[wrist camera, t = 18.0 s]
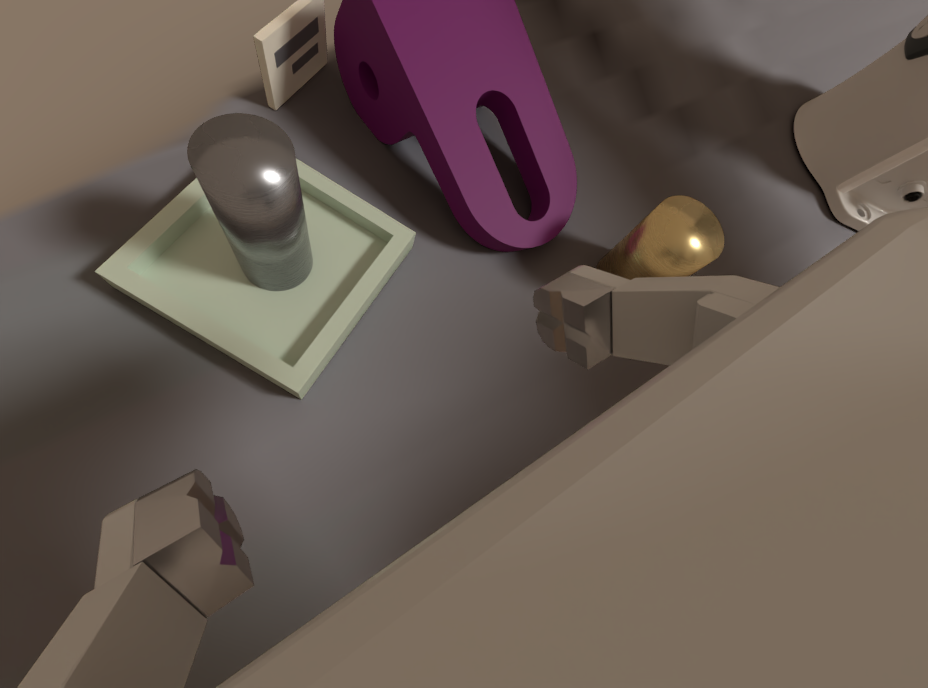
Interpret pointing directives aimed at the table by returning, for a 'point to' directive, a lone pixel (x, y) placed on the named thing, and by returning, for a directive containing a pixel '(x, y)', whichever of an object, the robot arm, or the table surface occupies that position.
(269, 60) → the label tile
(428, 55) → the mounting bracket
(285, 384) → the parts tray
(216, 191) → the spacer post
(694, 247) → the gold metallic cylinder
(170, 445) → the table surface
